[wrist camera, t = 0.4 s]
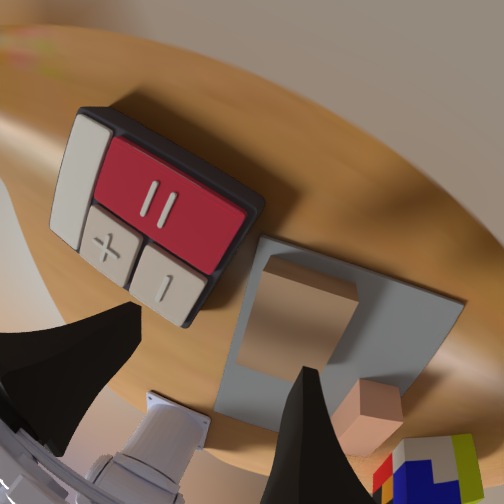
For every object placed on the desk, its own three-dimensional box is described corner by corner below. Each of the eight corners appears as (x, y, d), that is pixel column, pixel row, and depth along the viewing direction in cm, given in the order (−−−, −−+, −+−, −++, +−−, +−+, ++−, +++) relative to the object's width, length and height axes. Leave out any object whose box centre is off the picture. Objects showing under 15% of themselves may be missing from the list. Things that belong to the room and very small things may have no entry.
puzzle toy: (403, 437, 24) (406, 513, 15) (471, 432, 22) (484, 497, 13) (373, 474, 27) (369, 535, 18) (434, 470, 25) (438, 526, 16)
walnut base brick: (315, 366, 22) (312, 388, 19) (244, 343, 23) (235, 363, 20) (356, 283, 18) (358, 302, 16) (270, 255, 19) (262, 270, 17)
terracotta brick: (366, 424, 23) (366, 457, 19) (330, 417, 24) (326, 450, 20) (398, 387, 21) (403, 422, 17) (359, 378, 21) (360, 414, 18)
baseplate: (352, 445, 25) (352, 449, 25) (214, 407, 28) (213, 410, 27) (462, 302, 17) (464, 305, 17) (261, 234, 19) (260, 236, 19)
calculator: (182, 337, 20) (41, 231, 20) (202, 306, 24) (73, 216, 24) (259, 213, 16) (71, 104, 15) (270, 197, 19) (108, 105, 19)
